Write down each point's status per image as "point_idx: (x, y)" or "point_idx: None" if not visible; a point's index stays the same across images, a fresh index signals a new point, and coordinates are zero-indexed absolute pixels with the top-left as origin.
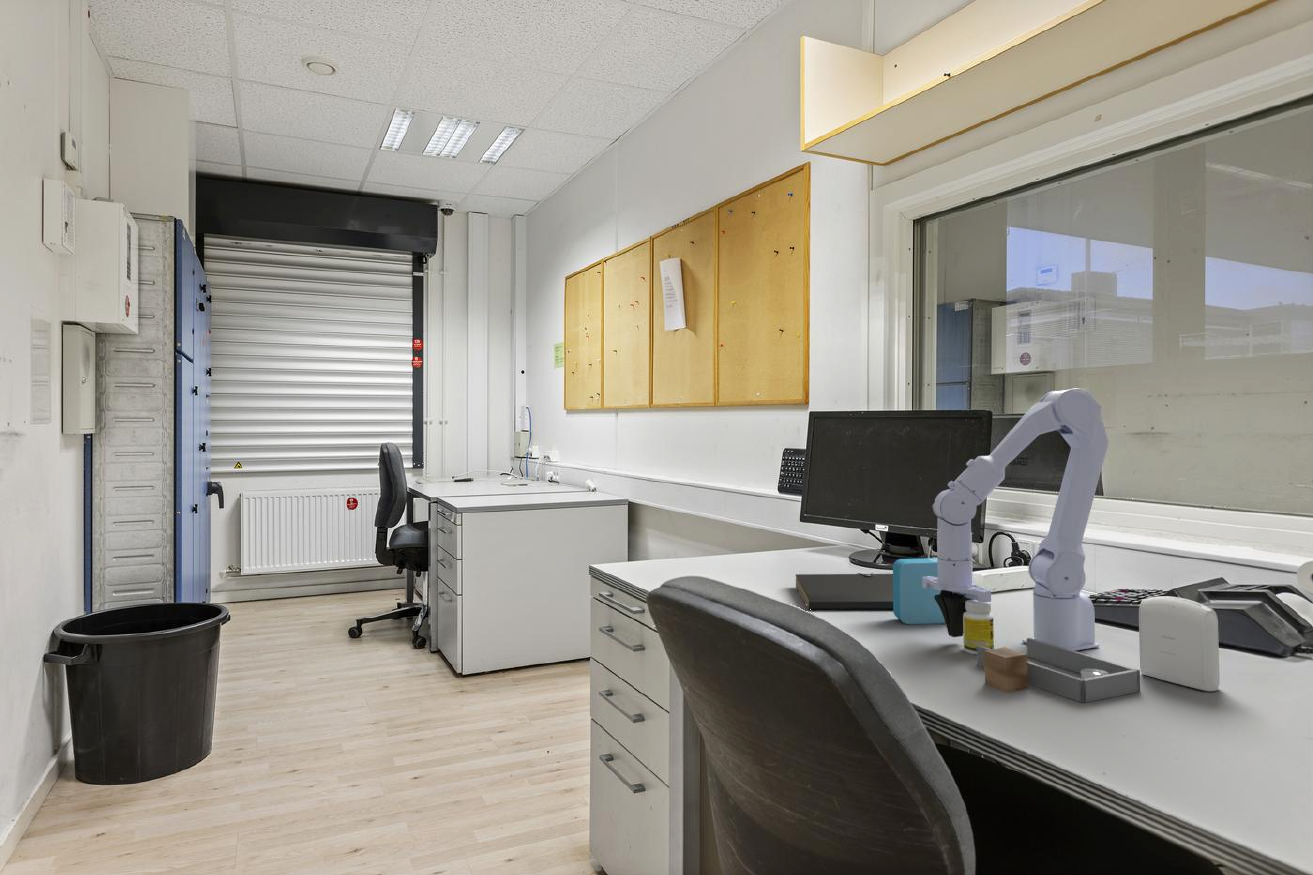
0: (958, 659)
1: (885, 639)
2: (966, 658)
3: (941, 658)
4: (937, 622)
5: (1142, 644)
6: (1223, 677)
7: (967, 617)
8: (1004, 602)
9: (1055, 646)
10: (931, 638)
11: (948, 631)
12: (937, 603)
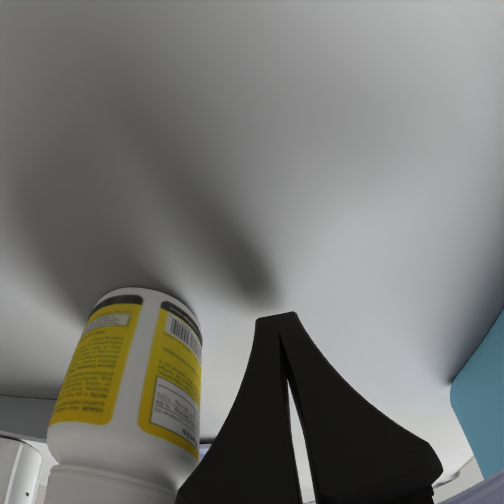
0: (42, 204)
1: (448, 44)
2: (56, 243)
3: (57, 135)
4: (481, 344)
5: (4, 478)
6: (43, 473)
7: (78, 426)
8: (459, 449)
9: (22, 435)
10: (386, 255)
11: (290, 322)
12: (395, 426)
